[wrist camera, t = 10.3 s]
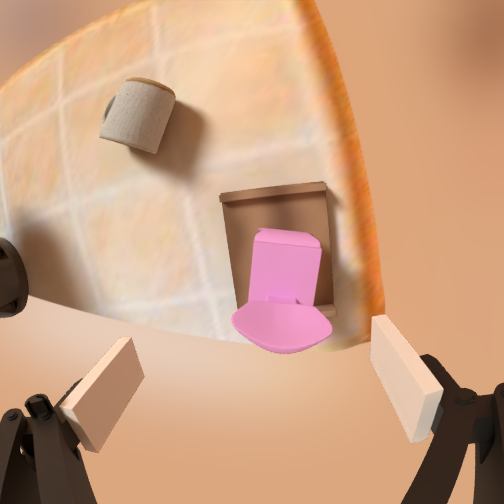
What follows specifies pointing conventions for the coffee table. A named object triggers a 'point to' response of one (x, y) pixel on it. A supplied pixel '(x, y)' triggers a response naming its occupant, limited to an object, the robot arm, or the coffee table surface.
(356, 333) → the coffee table surface
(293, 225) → the shelf board
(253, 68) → the coffee table surface
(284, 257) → the toy chair
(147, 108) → the ceramic mug
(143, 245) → the coffee table surface
